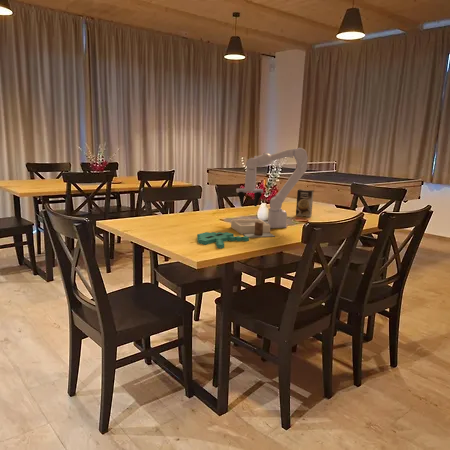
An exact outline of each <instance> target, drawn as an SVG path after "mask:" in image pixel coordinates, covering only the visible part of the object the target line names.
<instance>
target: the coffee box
mask: <svg viewBox="0 0 450 450" xmlns="http://www.w3.org/2000/svg"><path fill="white" fill-rule="evenodd" d="M314 191H315V190H313V189H303V188H302V189H301V188H298V189H297V192H296V193H297V195H296V205H295V206H296V209H295V216H296V217H303V216H306V217H307V218H311V217H312V214H313V203H314V202H313V201H314ZM306 217H305V218H306Z"/></svg>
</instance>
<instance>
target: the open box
mask: <svg viewBox="0 0 450 450" xmlns="http://www.w3.org/2000/svg"><path fill="white" fill-rule="evenodd" d="M255 222H263V233H271V228H270V225H269V224H268V222H266V221H264V220H262V219H260V218H254V219H253V218H250V219H249V218H248V219H247V218H245V219H244V218H243V219H231V221H230V228H232V229H233V230H234V231H236V232H237V233H238V234H240V235H243V234H248V233H255Z"/></svg>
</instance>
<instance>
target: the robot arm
mask: <svg viewBox="0 0 450 450" xmlns="http://www.w3.org/2000/svg"><path fill="white" fill-rule="evenodd" d="M307 152H308V151H307V150H306V149H304V148H302V147H297V148H290V149H289V148H288V149H285V150H282V151H279V152H276V153H273V154H270V153H266V152H264V153H263V152H262V154H261V155H254V156H253V157H250V158H248V159H247V160H246V162H245V166H246V168H245V175H244V176H245V178H244V188H236V194H237V196H238V198H239V202H240V203H239V204H240V206H241V207H244V203H245V202H244V199H245V193H248V194H249V193H250V194H253V193H254V194H253V195H254V201H253V206H254V207H257V206H258V204H259V200H260V198H261V197H262V195H263V194H264V189H262V188H256V184H257V183H256V182H257V174H258V173H257V167H258V168H261V167H264V166H268V165H270V164H271V163H272V162H273V161H277V160H280V159H284V158H290V159H293V158H294V160H295V162H296V168H295V170H294V171H293V172H292V173H291V175H290V176H289V177H288V178H287V181H286V182H285V183H284V184H283V186H282V187H281V189H279V190H278V192H277V193H276V194H275V196H273V197H271V198H270V200H269V208H268V211H267V213H268V215H267V216H268V217H267V223H268V224H269V225H270V229H275V228H276V229H278V228H279V229H281V228H282V229H283V228H288V226H287V219H288V218H287V217H288V214H287V211H286V210H284V209H283V208H282V206H283V203H284V201H285V200H286V198H287V197H288V195H289V194H290V193H291V192H292V190H293V189H294V187H295V186H296V185H297V183H299V181H300V179H301V178H302V177H303V175H304V174H305V173H306V171H307V169H308V159H309V157H308V153H307Z"/></svg>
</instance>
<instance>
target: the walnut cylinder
mask: <svg viewBox="0 0 450 450" xmlns="http://www.w3.org/2000/svg"><path fill="white" fill-rule="evenodd" d="M254 235H257V236H262V235H263V222H255V233H254Z"/></svg>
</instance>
